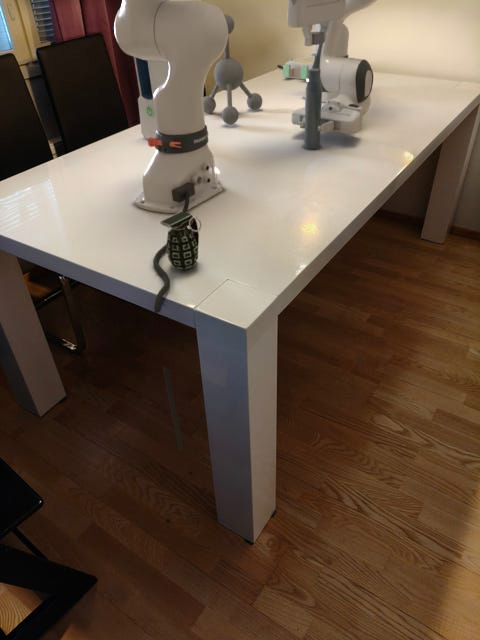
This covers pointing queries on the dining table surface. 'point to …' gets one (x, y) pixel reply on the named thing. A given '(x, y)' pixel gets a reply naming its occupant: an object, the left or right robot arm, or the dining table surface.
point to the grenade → (182, 240)
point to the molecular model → (230, 83)
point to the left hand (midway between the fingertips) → (315, 44)
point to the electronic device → (149, 92)
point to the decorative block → (298, 67)
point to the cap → (318, 37)
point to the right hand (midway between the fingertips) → (310, 127)
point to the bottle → (313, 110)
